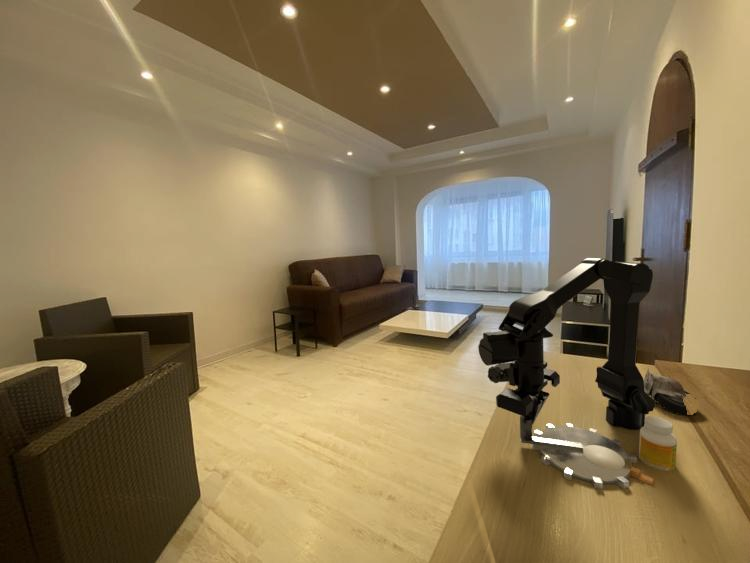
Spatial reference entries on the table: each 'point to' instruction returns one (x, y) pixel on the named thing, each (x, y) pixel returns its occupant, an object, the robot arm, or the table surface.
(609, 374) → the robot arm
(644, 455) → the supplement bottle
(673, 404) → the caster wheel
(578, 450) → the sprocket
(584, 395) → the table surface
